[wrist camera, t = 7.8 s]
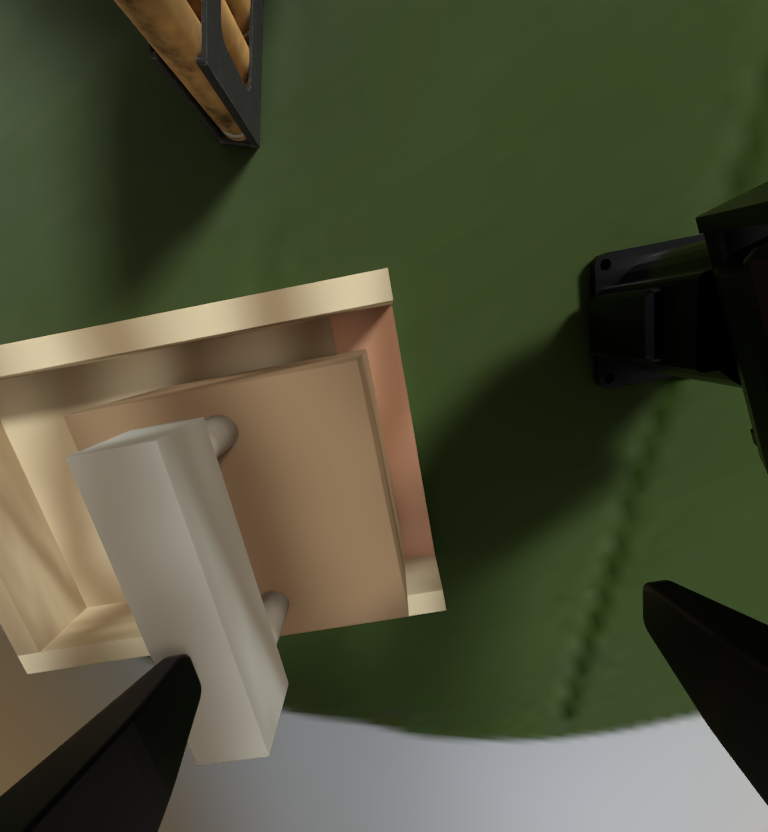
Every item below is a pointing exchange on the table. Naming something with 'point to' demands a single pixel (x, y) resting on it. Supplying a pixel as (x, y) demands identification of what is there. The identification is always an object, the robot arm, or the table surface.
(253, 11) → the ammunition clip
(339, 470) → the panel with bar handle
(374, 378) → the bay
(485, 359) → the table surface
